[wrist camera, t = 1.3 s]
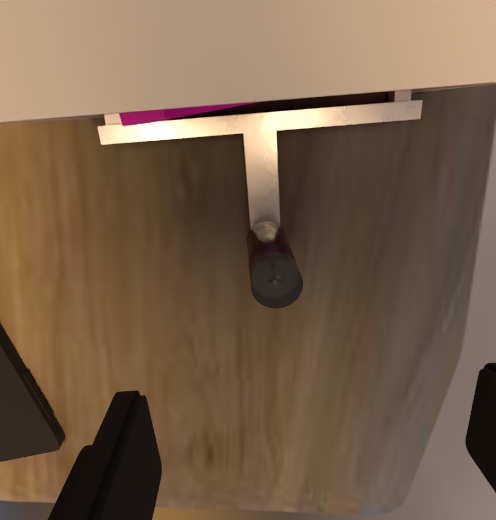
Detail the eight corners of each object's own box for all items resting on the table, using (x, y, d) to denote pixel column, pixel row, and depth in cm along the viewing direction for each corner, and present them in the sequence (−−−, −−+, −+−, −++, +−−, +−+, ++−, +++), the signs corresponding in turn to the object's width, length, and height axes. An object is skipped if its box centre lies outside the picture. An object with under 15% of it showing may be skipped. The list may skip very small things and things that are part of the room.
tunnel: (51, -36, 20) (-122, -175, 10) (442, -67, 20) (637, -236, 10) (87, 118, 23) (-21, 123, 13) (425, 91, 23) (563, 76, 13)
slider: (74, -54, 19) (-36, -166, 11) (418, -81, 19) (543, -213, 11) (139, 259, 26) (98, 322, 18) (391, 239, 26) (458, 293, 18)
